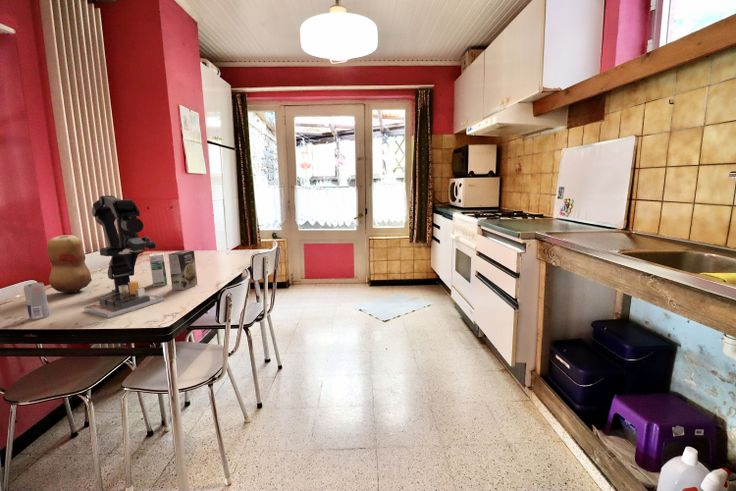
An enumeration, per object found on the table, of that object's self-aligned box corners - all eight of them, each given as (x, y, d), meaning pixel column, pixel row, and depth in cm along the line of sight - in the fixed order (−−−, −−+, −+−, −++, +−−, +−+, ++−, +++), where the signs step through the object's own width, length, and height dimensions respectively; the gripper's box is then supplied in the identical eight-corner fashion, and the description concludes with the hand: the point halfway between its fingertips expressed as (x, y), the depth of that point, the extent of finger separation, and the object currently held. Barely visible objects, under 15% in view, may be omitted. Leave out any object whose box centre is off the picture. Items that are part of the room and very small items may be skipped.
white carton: (38, 314, 127) (31, 282, 125) (54, 313, 128) (48, 282, 125) (25, 320, 122) (18, 287, 120) (41, 319, 122) (35, 286, 120)
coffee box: (184, 290, 153) (180, 254, 150) (171, 289, 154) (167, 254, 151) (198, 284, 162) (194, 250, 159) (186, 283, 163) (182, 249, 160)
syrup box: (153, 286, 159) (148, 255, 157) (153, 283, 164) (149, 253, 162) (167, 284, 162) (163, 254, 159) (167, 281, 167) (164, 252, 164)
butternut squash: (51, 299, 144) (40, 239, 139) (52, 292, 154) (41, 236, 149) (94, 292, 153) (84, 235, 148) (92, 285, 163) (83, 232, 158)
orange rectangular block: (129, 293, 137) (127, 282, 136) (136, 292, 139) (134, 280, 138) (132, 294, 136) (131, 283, 135) (139, 292, 138) (138, 281, 137)
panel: (84, 311, 130) (81, 294, 129) (139, 295, 147) (137, 280, 146) (108, 318, 123) (105, 300, 121) (163, 300, 140) (161, 285, 139)
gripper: (112, 235, 128) (118, 276, 131) (161, 229, 145) (166, 265, 147) (96, 234, 133) (102, 273, 136) (145, 227, 150) (150, 263, 152)
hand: (132, 268), depth 143 cm, fingers closed
